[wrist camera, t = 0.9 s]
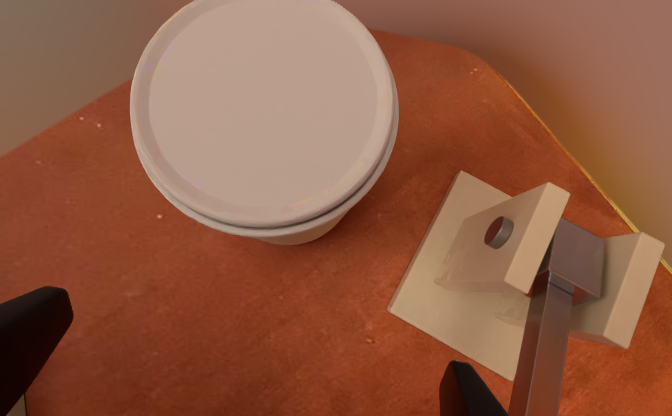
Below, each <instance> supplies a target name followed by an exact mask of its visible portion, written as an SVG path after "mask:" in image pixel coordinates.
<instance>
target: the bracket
mask: <svg viewBox="0 0 672 416" xmlns="http://www.w3.org/2000/svg"><path fill="white" fill-rule="evenodd" d="M569 197H570V193H569V192H567V191H565V190H563V189H561V188H559V187H558V186H556V185H554V184H552V183H550V182H547V183H545V184H542V185H540V186H538V187H536V188H533V189H531V190H529V191H527V192H524V193H522V194H520V195H517V196H515V197H511V196H509V195H507V194H505V193H503V192H502V191H500V190H498V189H496V188H494V187H492V186H490V185H488V184H487V183H485V182H483V181H481V180H479V179H477V178H475V177H474V176H472V175H470V174H468V173H466V172H464V171H462V170H461V171H459V172H458V173H457V174H456V175H455V176H454V178H453V179H452V181H451V183H450V185H449V187H448V189H447V191H446V193H445V195H444V197H443V199H442V201H441V203H440V205H439V207H438V209H437V211H436V213H435V215H434V217H433V219H432V221H431V223H430V225H429V227H428V229H427V231H426V233H425V234H424V236H423V238H422V240H421V242H420V244H419V246H418V248H417V250H416V252H415V254H414V256H413V258H412V260H411V262H410V264H409V266H408V268H407V270H406V272H405V274H404V276H403V278H402V280H401V282H400V284H399V286H398V287H397V289H396V291H395V293H394V295H393V297H392V299H391V301H390V303H389V305H388V307H387V309H386V311H388V312H389V313H391V314H393V315H395V316H396V317H398V318H400V319H402V320H403V321H405V322H407V323H409V324H410V325H412V326H414V327H416V328H417V329H419V330H421V331H423V332H424V333H426V334H428V335H430V336H431V337H433V338H435V339H437V340H438V341H440V342H442V343H444V344H445V345H447V346H449V347H451V348H452V349H454V350H456V351H458V352H459V353H461V354H463V355H465V356H466V357H468V358H470V359H472V360H473V361H475V362H477V363H479V364H480V365H482V366H484V367H486V368H487V369H489V370H491V371H493V372H494V373H496V374H498V375H500V376H501V377H503V378H505V379H507V380H509V381H511V382H512V381H513V379H514V377H515V374H516V369H517V364H518V359H519V354H520V349H521V344H522V339H523V334H524V329H525V324H526V319H527V313H528V308H529V303H530V298H529V297H527V296H525V295H523V294H528V292H529V290H530V288H531V285H532V283H533V281H534V278H535V276H536V274H537V271H538V269H539V267H540V264H541V262H542V260H543V257H544V255H545V253H546V250H547V248H548V246H549V243H550V241H551V239H552V236H553V234H554V232H555V229H556V227H557V225H558V222H559V220H560V218H561V215H562V213H563V211H564V209H565V206H566V204H567V202H568V199H569ZM601 239H603V240H604V241H605V247H604V259H603V272H602V284H601V296H600V297H599V298H597V299H594V300H591V301H588V302H585V303H582V304H579V305H576V306H573V307H572V310H571V318H570V326H569V334H568V337H572V338H577V339H582V340H586V341H591V342H596V343H600V344H605V345H610V346H615V347H619V348H624V349H628V347H629V344H630V342H631V339H632V336H633V333H634V330H635V328H636V325H637V322H638V319H639V317H640V314H641V311H642V308H643V305H644V303H645V300H646V297H647V294H648V291H649V289H650V286H651V283H652V280H653V278H654V275H655V272H656V269H657V266H658V264H659V261H660V258H661V255H662V252H663V250H664V247H665V244H664V243H663V242H661V241H659V240H657V239H655V238H653V237H651V236H649V235H647V234H646V233H644V232H639V233H632V234H626V235H620V236H614V237H607V238H601Z"/></svg>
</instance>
